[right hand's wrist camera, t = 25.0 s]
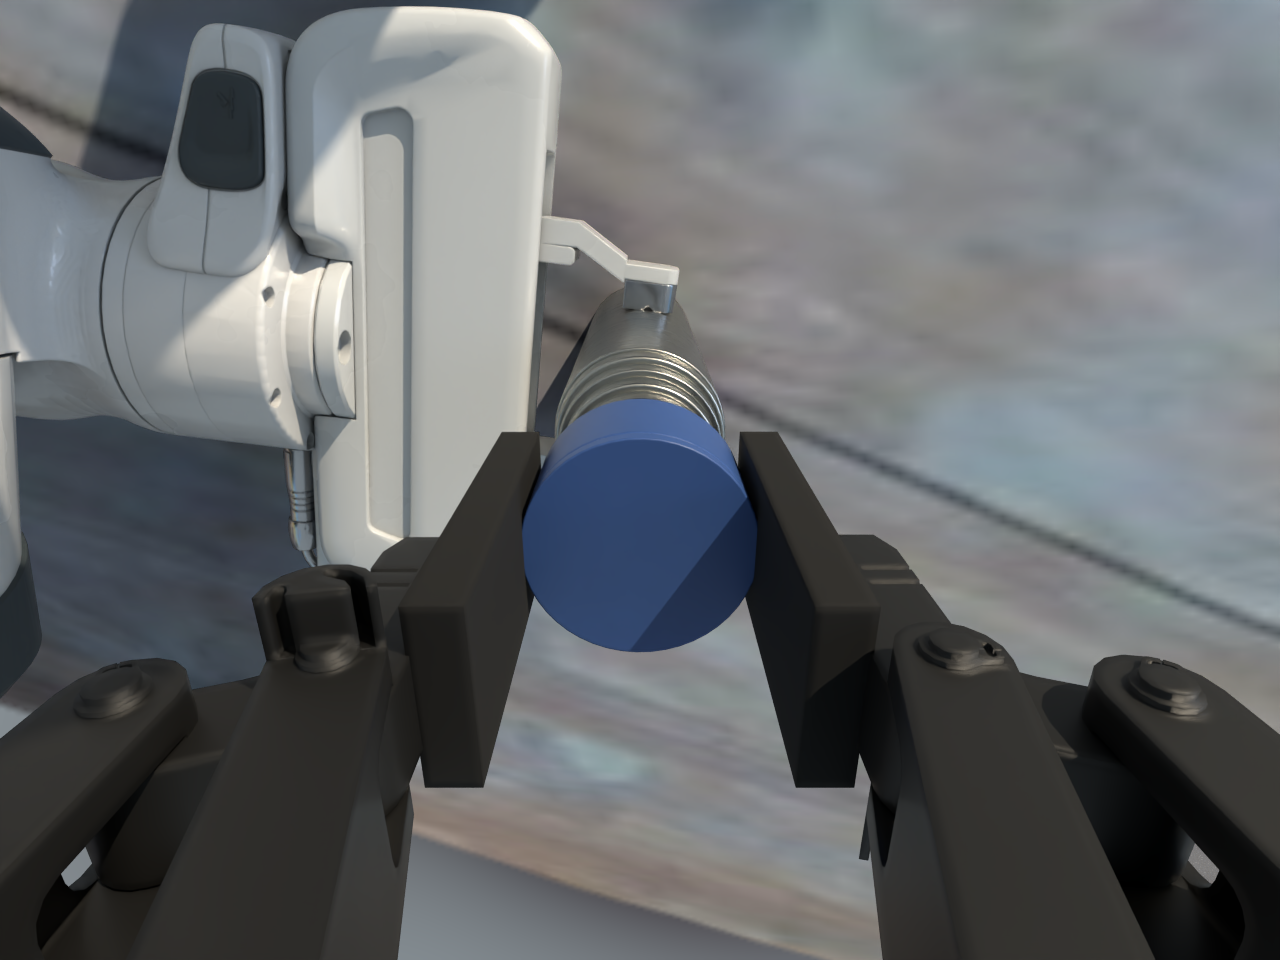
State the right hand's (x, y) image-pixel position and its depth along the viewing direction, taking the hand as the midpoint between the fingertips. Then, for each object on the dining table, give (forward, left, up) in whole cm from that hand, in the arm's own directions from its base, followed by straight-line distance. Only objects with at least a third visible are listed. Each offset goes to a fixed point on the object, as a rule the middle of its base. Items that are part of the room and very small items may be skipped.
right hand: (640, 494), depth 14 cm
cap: (0, 0, +2) cm, 2 cm away
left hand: (0, -1, -12) cm, 12 cm away
